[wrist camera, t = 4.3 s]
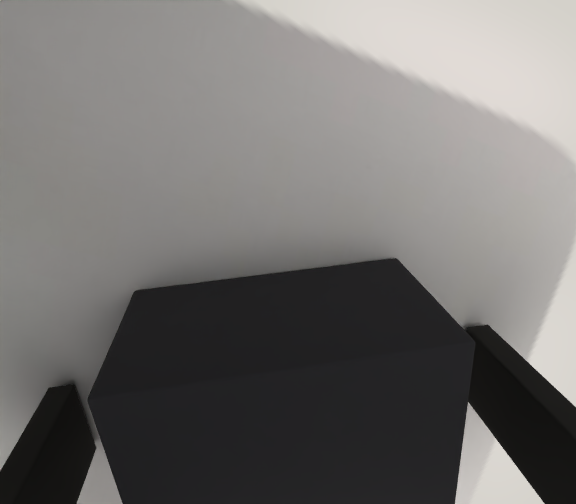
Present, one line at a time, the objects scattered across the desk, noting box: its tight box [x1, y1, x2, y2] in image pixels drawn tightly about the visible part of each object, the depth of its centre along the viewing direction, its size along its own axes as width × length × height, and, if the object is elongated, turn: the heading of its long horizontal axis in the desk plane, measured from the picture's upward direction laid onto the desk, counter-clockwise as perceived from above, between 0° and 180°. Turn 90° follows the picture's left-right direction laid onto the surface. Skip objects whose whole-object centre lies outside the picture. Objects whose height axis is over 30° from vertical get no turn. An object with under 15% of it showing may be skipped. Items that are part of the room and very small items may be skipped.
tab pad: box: [88, 258, 475, 504], centre depth 13 cm, size 11×8×4 cm
